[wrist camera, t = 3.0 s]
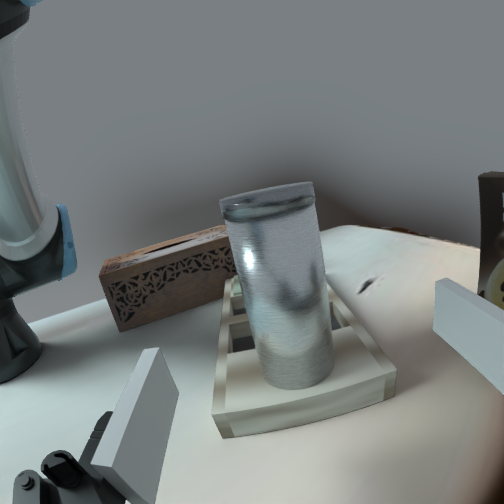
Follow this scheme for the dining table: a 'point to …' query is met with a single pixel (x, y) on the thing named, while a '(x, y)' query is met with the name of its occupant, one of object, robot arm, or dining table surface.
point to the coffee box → (492, 238)
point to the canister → (283, 282)
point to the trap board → (293, 401)
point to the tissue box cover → (168, 277)
